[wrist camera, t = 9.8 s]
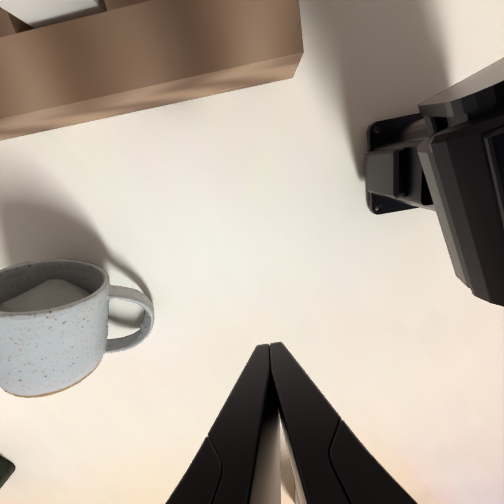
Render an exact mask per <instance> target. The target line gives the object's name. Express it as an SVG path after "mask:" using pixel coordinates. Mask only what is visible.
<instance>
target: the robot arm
mask: <svg viewBox="0 0 504 504" xmlns="http://www.w3.org/2000/svg"><path fill="white" fill-rule="evenodd" d="M418 107H419V111H420V113H418V114H413V115H408V116H403V117H398V118H393V119H388V120H383V121H378V122H375V123H372V124H371V125H370V126H369V127H368V131H367V137H368V153H367V154H366V156H365V174H366V190H367V191H368V192H369V206H370V211H371V212H372V213H374V214H378V215H379V214H384V213H390V212H396V211H402V210H408V209H413V208H419V207H421V208H425V209H429V210H433V211H436V213H437V216H438V219H439V222H440V226H441V229H442V232H443V235H444V239H445V242H446V245H447V248H448V251H449V255H450V258H451V261H452V264H453V268H454V271H455V274H456V276H457V277H458V278H459V279H460V280H461V281H462V282H463V283H464V284H465V285H466V286H467V287H469V288H470V289H471V291H472V294H473V295H474V296H476V297H478V298H481V299H483V300H485V301H487V302H490V303H493V304H496V305H500V306H504V58H502V59H500V60H498V61H497V62H495V63H493V64H491V65H489V66H488V67H486V68H484V69H482V70H480V71H479V72H477V73H475V74H473V75H471V76H470V77H468V78H466V79H464V80H462V81H461V82H459V83H457V84H455V85H453V86H452V87H450V88H448V89H446V90H444V91H443V92H441V93H439V94H437V95H435V96H434V97H432V98H430V99H428V100H426V101H425V102H423V103H421V104H419V105H418ZM375 126H376V127H377V128H378V132H377V133H376V134H375V133H374V131H373V130H374V127H375ZM377 205H379V209H378V210H375V207H376V206H377ZM279 414H280V416H279ZM280 419H281V423H282V428H283V432H284V436H285V441H286V445H287V449H288V453H289V458H290V462H291V466H292V470H293V474H294V479H295V483H296V487H297V491H298V495H299V500H300V504H418V503H417V502H416V501H415V500H414V499H413V498H412V497H411V496H410V495H409V494H408V493H407V492H406V491H405V490H404V489H403V488H402V487H401V486H400V485H399V484H398V482H397V481H396V480H395V479H394V478H393V477H392V476H391V475H390V474H389V473H388V472H387V471H386V470H385V469H384V468H383V467H382V466H381V464H380V463H379V462H378V461H377V460H376V459H375V458H374V457H373V456H372V455H371V454H370V452H369V451H368V450H367V449H366V448H365V447H364V445H363V444H362V443H361V442H360V441H359V439H358V438H357V437H356V436H355V434H354V433H353V432H352V431H351V429H350V428H349V427H348V426H347V424H346V423H345V422H344V421H343V420H342V419H341V417H340V416H339V414H338V413H337V412H336V411H335V409H334V408H333V407H332V405H331V404H330V403H329V402H328V400H327V399H326V398H325V397H324V395H323V394H322V393H321V391H320V390H319V389H318V388H317V386H316V385H315V384H314V382H313V381H312V380H311V379H310V377H309V376H308V375H307V374H306V372H305V371H304V370H303V368H302V367H301V366H300V365H299V363H298V362H297V361H296V359H295V358H294V357H293V356H292V354H291V353H290V352H289V351H288V349H287V348H286V347H285V345H284V344H283V343H282V342H275V343H271V344H270V346H269V344H262V345H257V346H256V348H255V350H254V351H253V353H252V355H251V357H250V359H249V360H248V362H247V364H246V366H245V368H244V369H243V371H242V373H241V375H240V377H239V379H238V380H237V382H236V384H235V386H234V388H233V389H232V391H231V393H230V395H229V397H228V398H227V400H226V402H225V404H224V406H223V408H222V409H221V411H220V413H219V415H218V417H217V418H216V420H215V422H214V424H213V426H212V427H211V429H210V431H209V433H208V436H207V437H206V438H205V440H204V442H203V443H202V445H201V447H200V449H199V451H198V452H197V454H196V456H195V458H194V459H193V461H192V463H191V464H190V466H189V468H188V470H187V471H186V473H185V474H184V476H183V477H182V479H181V481H180V482H179V484H178V485H177V487H176V488H175V490H174V491H173V493H172V494H171V496H170V497H169V499H168V500H167V502H166V503H165V504H281V474H280Z"/></svg>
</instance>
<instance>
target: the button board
mask: <svg viewBox="0 0 504 504" xmlns="http://www.w3.org/2000/svg"><path fill="white" fill-rule="evenodd" d="M104 1H105V5H106V8H107V11H106V12H102V13H98V14H94V15H90V16H86V17H82V18H77V19H73V20H69V21H65V22H61V23H57V24H53V25H49V26H45V27H41V28H37V29H35V28H33V27H31V26H30V25H28V24H27V23H25V22H23V21H22V20H20V19H19V18H17V17H15V16H14V15H12V14H11V13H9V12H8V11H6V10H4V9H3V8H1V7H0V140H5V139H9V138H14V137H19V136H23V135H28V134H33V133H37V132H42V131H47V130H51V129H56V128H61V127H65V126H70V125H75V124H79V123H84V122H89V121H93V120H98V119H103V118H107V117H112V116H117V115H121V114H126V113H131V112H135V111H140V110H145V109H149V108H154V107H159V106H163V105H168V104H173V103H177V102H182V101H187V100H191V99H196V98H201V97H205V96H210V95H215V94H219V93H224V92H229V91H233V90H238V89H243V88H247V87H252V86H257V85H261V84H266V83H271V82H275V81H280V80H285V79H289V78H293V76H294V73H295V71H296V69H297V66H298V64H299V62H300V59H301V57H302V55H303V52H304V51H303V40H302V30H301V19H300V9H299V0H104Z"/></svg>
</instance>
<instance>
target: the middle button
mask: <svg viewBox="0 0 504 504" xmlns="http://www.w3.org/2000/svg"><path fill="white" fill-rule="evenodd" d="M0 7H1V8H3V9H4V10H6V11H8V12H9V13H11V14H12V15H14V16H15V17H17V18H19V19H20V20H22V21H23V22H25V23H27V24H28V25H30V26H31V27H33V28H35V29H37V28H41V27H45V26H49V25H53V24H57V23H61V22H65V21H69V20H73V19H77V18H82V17H86V16H90V15H94V14H98V13H102V12H106V11H107V8H106V5H105V1H104V0H0Z"/></svg>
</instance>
